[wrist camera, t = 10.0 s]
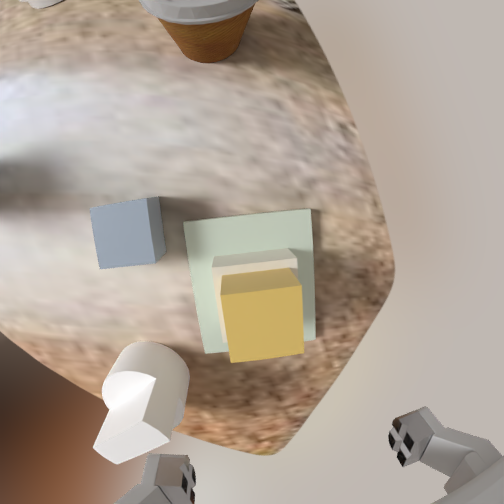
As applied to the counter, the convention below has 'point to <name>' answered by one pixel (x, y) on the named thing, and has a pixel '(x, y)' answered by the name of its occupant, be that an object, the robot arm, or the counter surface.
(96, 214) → the slate brick
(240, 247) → the plate
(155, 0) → the disposable coffee cup
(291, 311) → the mustard brick
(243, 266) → the base brick
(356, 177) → the counter surface
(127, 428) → the cylinder with rectangular tab
